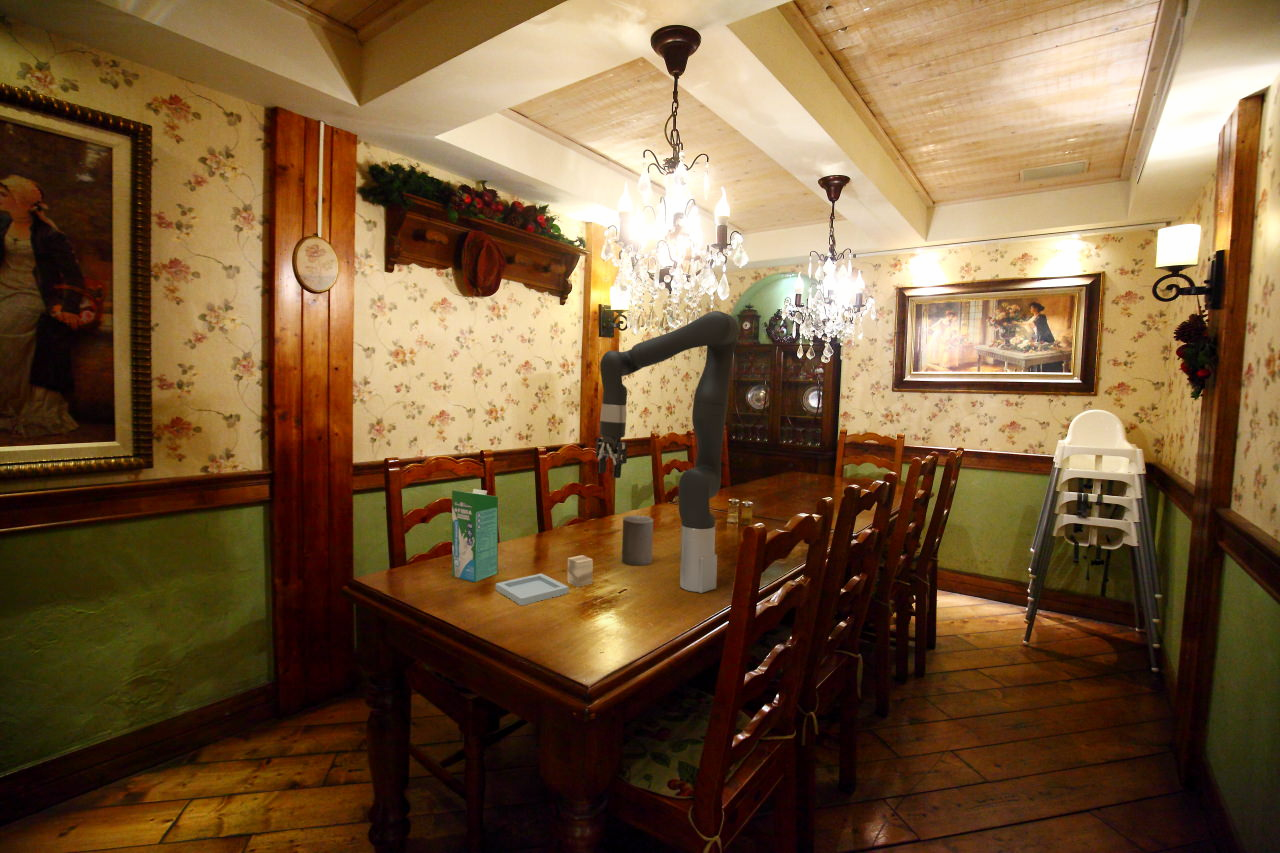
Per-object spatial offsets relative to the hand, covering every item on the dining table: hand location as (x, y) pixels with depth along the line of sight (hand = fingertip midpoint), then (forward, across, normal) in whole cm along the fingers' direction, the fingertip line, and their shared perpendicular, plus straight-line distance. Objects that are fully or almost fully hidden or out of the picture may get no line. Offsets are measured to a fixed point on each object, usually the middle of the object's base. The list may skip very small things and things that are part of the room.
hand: (609, 475), depth 168 cm
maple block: (+29, -5, +10) cm, 31 cm away
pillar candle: (+29, +4, -15) cm, 33 cm away
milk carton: (+31, +16, +33) cm, 48 cm away
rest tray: (+30, -5, +24) cm, 39 cm away
